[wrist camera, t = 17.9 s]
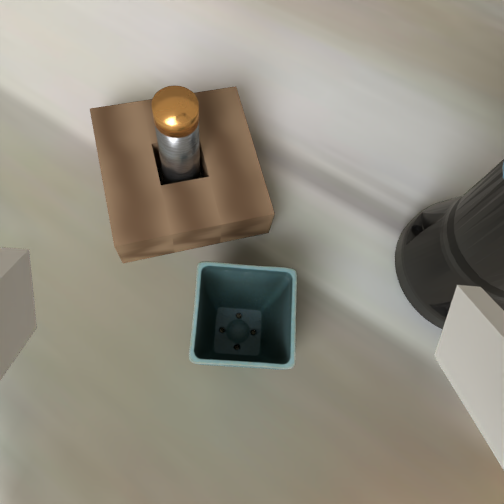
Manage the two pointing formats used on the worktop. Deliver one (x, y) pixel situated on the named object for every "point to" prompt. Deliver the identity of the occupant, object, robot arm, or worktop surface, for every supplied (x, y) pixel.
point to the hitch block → (181, 193)
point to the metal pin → (177, 133)
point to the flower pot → (244, 316)
